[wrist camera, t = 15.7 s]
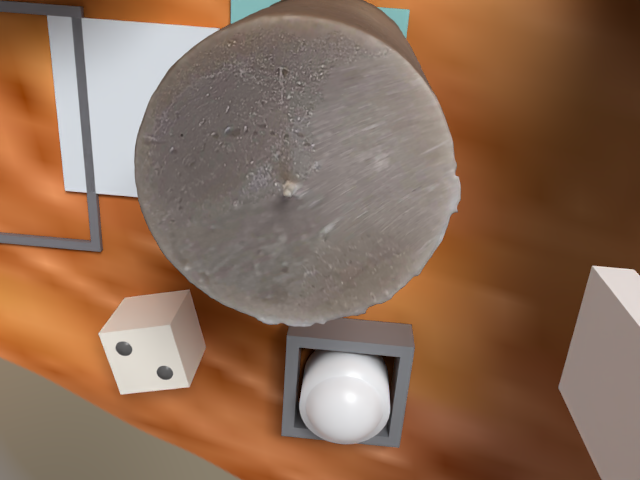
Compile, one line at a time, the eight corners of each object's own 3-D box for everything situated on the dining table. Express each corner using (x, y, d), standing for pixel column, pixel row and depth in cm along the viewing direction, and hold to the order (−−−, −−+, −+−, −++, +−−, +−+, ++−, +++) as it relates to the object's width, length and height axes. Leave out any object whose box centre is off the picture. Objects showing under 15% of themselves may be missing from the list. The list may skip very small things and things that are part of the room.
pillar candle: (211, 0, 29) (73, 33, 15) (420, -19, 28) (470, -3, 14) (240, 194, 33) (150, 357, 19) (424, 183, 32) (466, 347, 18)
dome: (306, 335, 36) (299, 383, 31) (392, 343, 35) (396, 392, 31) (301, 404, 38) (294, 458, 33) (383, 412, 37) (385, 468, 33)
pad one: (49, 15, 30) (47, 15, 30) (219, 28, 30) (218, 28, 29) (67, 188, 34) (65, 190, 33) (219, 202, 33) (217, 204, 33)
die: (125, 297, 36) (98, 333, 33) (189, 288, 36) (169, 325, 32) (144, 353, 38) (120, 394, 34) (206, 346, 37) (189, 387, 34)
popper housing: (291, 313, 36) (286, 335, 34) (411, 324, 36) (414, 347, 33) (286, 409, 39) (281, 435, 36) (397, 420, 38) (399, 447, 36)
